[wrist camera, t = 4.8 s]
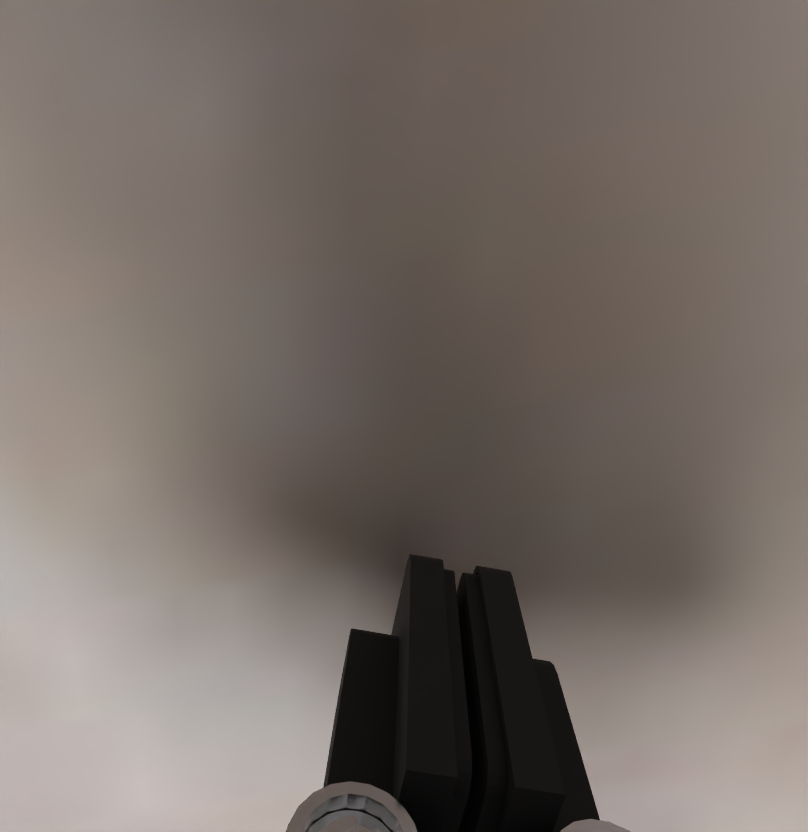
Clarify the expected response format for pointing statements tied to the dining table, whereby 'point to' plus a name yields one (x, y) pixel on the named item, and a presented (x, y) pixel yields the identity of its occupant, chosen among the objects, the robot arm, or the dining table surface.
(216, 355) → the dining table surface
